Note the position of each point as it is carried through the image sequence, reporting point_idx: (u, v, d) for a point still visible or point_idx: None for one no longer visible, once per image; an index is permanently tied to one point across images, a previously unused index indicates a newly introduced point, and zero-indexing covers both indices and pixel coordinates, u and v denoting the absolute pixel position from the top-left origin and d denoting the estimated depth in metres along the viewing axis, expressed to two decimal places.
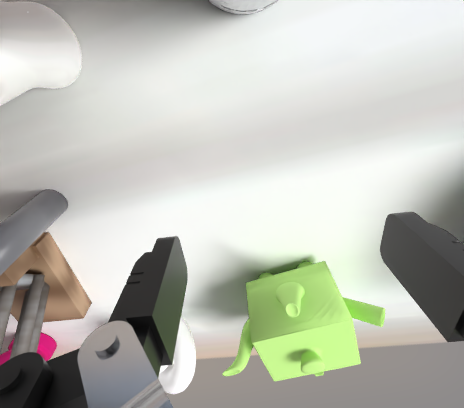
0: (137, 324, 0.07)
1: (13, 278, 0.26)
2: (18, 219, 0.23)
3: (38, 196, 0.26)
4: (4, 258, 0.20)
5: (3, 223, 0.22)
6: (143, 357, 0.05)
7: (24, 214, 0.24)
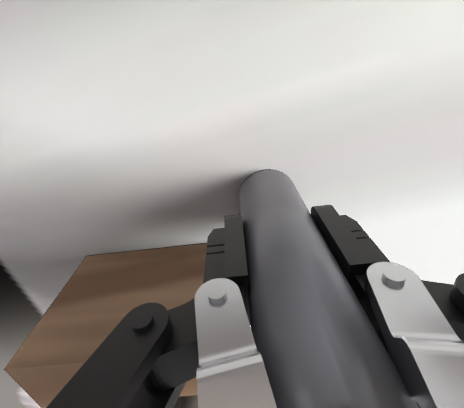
0: None
1: None
2: (310, 235, 0.08)
3: (271, 181, 0.12)
4: None
5: (293, 249, 0.07)
6: (245, 319, 0.06)
7: (306, 223, 0.09)
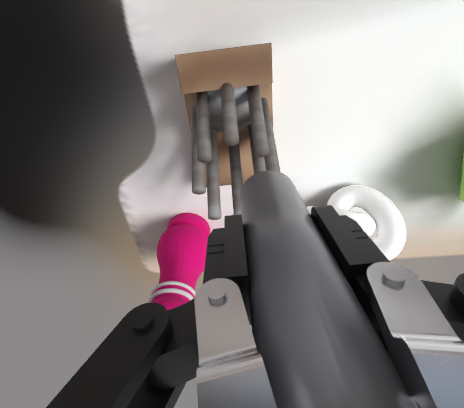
0: None
1: (271, 75, 0.22)
2: (310, 236, 0.08)
3: (271, 183, 0.12)
4: None
5: (293, 250, 0.07)
6: (245, 319, 0.06)
7: (306, 224, 0.09)
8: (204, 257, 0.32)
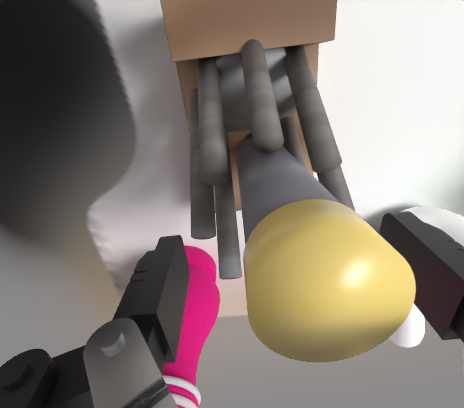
0: (141, 321, 0.07)
1: None
2: (289, 157, 0.10)
3: None
4: None
5: (274, 160, 0.10)
6: (147, 354, 0.05)
7: (287, 153, 0.11)
8: (209, 317, 0.21)
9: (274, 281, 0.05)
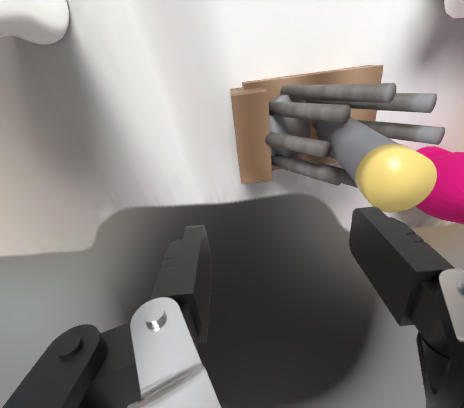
0: (178, 302, 0.07)
1: (260, 91, 0.21)
2: (336, 139, 0.18)
3: (320, 134, 0.22)
4: (381, 140, 0.14)
5: (336, 152, 0.18)
6: (187, 335, 0.06)
7: (333, 135, 0.19)
8: None
9: (380, 204, 0.13)
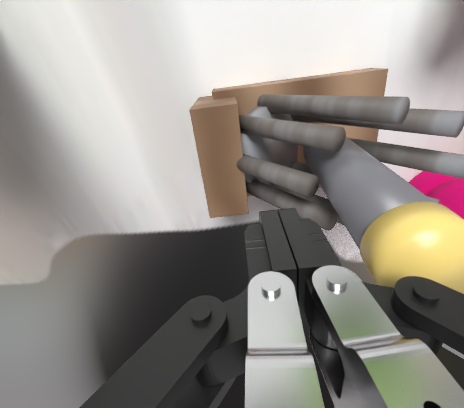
0: None
1: (227, 104, 0.16)
2: (328, 173, 0.13)
3: (308, 159, 0.17)
4: (399, 189, 0.09)
5: (329, 193, 0.13)
6: (297, 317, 0.06)
7: (325, 167, 0.14)
8: None
9: None
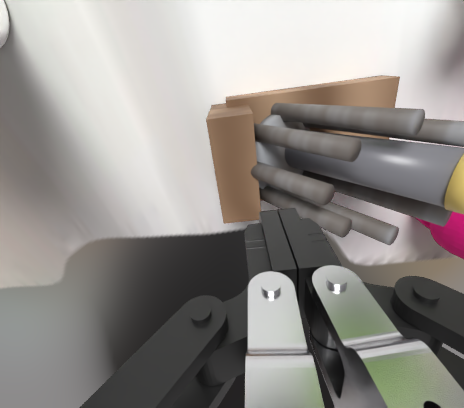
0: None
1: (242, 113, 0.16)
2: None
3: (300, 156, 0.19)
4: (441, 146, 0.13)
5: (363, 172, 0.15)
6: (297, 317, 0.06)
7: None
8: None
9: None
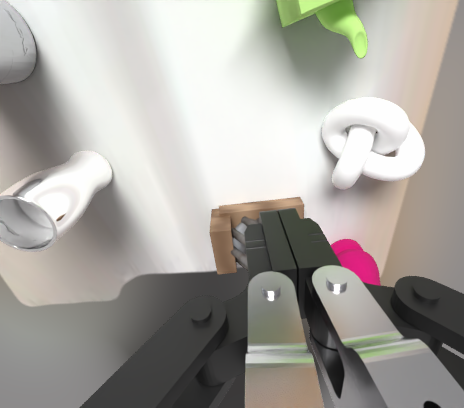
0: None
1: (226, 229, 0.36)
2: None
3: None
4: None
5: None
6: (297, 317, 0.06)
7: None
8: (359, 266, 0.39)
9: None
